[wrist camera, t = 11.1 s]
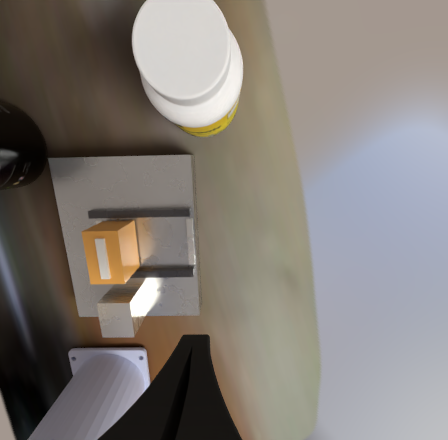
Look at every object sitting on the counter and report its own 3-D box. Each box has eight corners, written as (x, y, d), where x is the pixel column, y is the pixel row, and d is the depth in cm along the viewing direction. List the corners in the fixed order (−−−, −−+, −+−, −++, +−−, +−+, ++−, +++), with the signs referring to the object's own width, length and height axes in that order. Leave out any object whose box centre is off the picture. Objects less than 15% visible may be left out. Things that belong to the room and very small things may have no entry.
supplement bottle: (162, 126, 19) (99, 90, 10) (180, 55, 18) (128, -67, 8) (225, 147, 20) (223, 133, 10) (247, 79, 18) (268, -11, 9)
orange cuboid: (139, 265, 20) (123, 285, 17) (110, 266, 20) (89, 285, 17) (134, 220, 19) (116, 231, 16) (103, 220, 19) (79, 232, 16)
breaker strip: (201, 302, 23) (195, 339, 18) (91, 303, 23) (56, 341, 18) (194, 155, 20) (183, 153, 15) (65, 158, 20) (13, 157, 15)
